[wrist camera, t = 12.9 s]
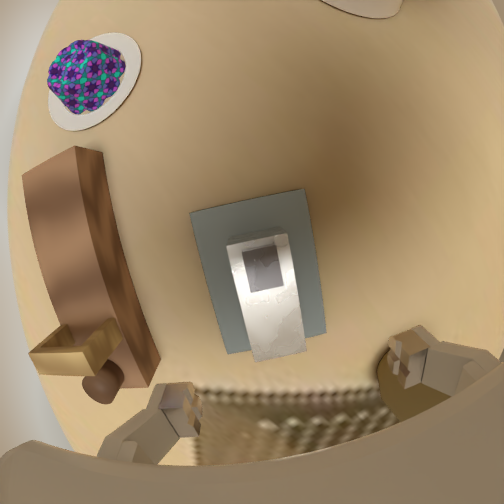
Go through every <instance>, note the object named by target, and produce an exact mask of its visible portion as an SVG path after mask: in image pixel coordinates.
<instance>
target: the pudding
mask: <svg viewBox="0 0 504 504" xmlns="http://www.w3.org/2000/svg"><path fill="white" fill-rule="evenodd" d="M114 48H115V49H114ZM116 49H117V50H116ZM118 50H119V51H120V52H121V53H122V54H123V56H124V58H125V61H126V66H125V62H124V61H122V60H120V55H121V53H120V52H119V51H118ZM140 66H141V53H140V49H139V47H138V45H137V43H136V42H135V40H134V39H132V38H131V37H130V36H128V35H125V34H122V33H106V34H101V35H99V36H96V37H93V38H91V39H89V40H86V41H85V40H77V41H75V42H73V43H71V44H70V45H69V46H68V47H66V48H64V49H63V50H61V51H60V52H59V54H58V55H57V57H56V60H55V61H53V62H52V64H51V66H50V68H49V71H48V72H49V77H48V79H47V84H48V87H49V88H50V90H49V96H48V107H49V113H50V115H51V118H52V119H53V121H54V122H55V124H57V125H58V126H59V127H60V128H63V129H65V130H70V131H78V130H83V129H87V128H90V127H92V126H94V125H96V124H98V123H99V122H101V121H103V120H104V119H106V118H107V117H108V116H109V115H110V114H112V113H113V112H114V111H115V110H116V109H117V108H118V107H119V106H120V105H121V104H122V102H123V101H124V100H125V98H126V97H127V96H128V94H129V93H130V91H131V89H132V88H133V86H134V84H135V82H136V79H137V77H138V74H139V70H140ZM125 67H126V71H125ZM124 71H125V75H124V78H123V81H122V83H121V85H120V80H119V78H120V77H121V75H122V74H123V73H124ZM119 85H120V87H119ZM118 87H119V88H118ZM117 89H118V90H117ZM115 92H116V93H115ZM114 93H115V94H114ZM113 94H114V95H113ZM112 95H113V97H112V98H111V99H110V100H109V101H108V102H107V103H106V104H104V105H103V106H102V104H103V102H104V100H105V98H108V97H110V96H112ZM63 104H64V105H65V106H67V107H68V109H69V110H70V111H71V112H73V113H74V114H81V113H82V112H83V111H85V110H88V111H94V110H96V111H94V112H92V113H89V114H86V115H74V114H72V113H70V112H69V111H67V110H66V108H65V107H64V105H63ZM100 106H102V107H100ZM99 107H100V108H99ZM98 108H99V109H98Z"/></svg>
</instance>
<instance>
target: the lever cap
mask: <svg viewBox="0 0 504 504" xmlns="http://www.w3.org/2000/svg"><path fill="white" fill-rule="evenodd" d="M226 247H227V252H228V256H229V260H230V264H231V268H232V273H233V277H234V281H235V285H236V289H237V293H238V297H239V301H240V305H241V309H242V313H243V317H244V321H245V325H246V329H247V333H248V337H249V341H250V345H251V349H252V353H253V356H254V360H255V362H258V361H264V360H269V359H273V358H278V357H283V356H287V355H292V354H296V353H300V352H304V351H307V349H306V342H305V335H304V329H303V322H302V316H301V309H300V303H299V297H298V291H297V285H296V279H295V273H294V268H293V262H292V256H291V251H290V245H289V240H288V235H287V232H285V231H284V230H283V229H282V228H281V227H275V228H270V229H266V230H261V231H256V232H251V233H247V234H242V235H238V236H233V237H229V239H228V242H227V245H226Z"/></svg>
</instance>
